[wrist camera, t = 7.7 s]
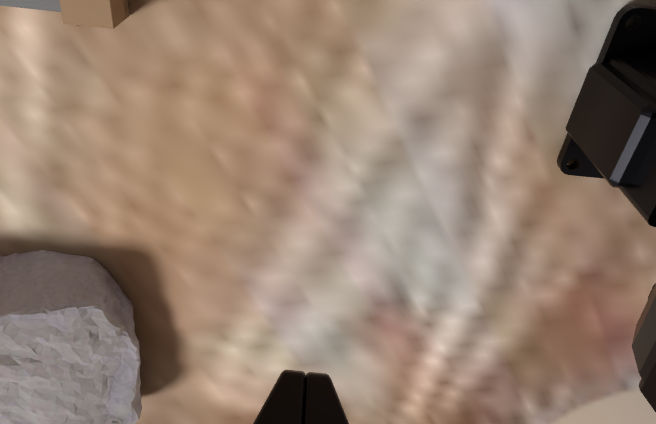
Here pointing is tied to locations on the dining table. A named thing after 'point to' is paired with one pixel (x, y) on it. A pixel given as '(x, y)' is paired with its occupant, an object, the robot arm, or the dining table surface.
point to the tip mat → (80, 10)
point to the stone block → (65, 343)
